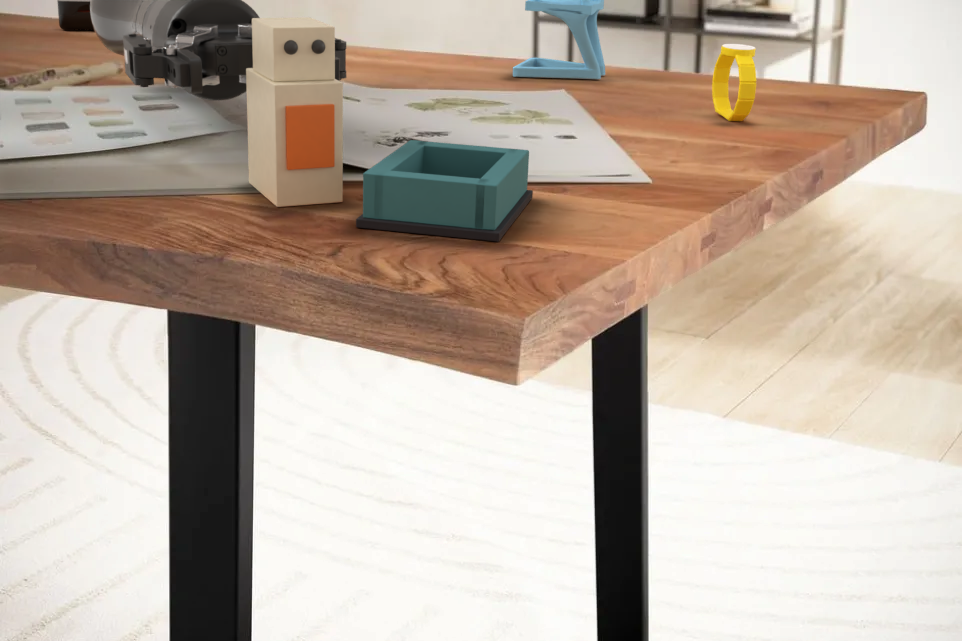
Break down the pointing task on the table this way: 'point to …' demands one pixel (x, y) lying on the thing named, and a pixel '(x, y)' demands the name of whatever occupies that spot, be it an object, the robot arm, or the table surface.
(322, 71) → the toy robot
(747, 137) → the table surface
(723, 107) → the watch
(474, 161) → the box
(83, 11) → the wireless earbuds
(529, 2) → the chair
